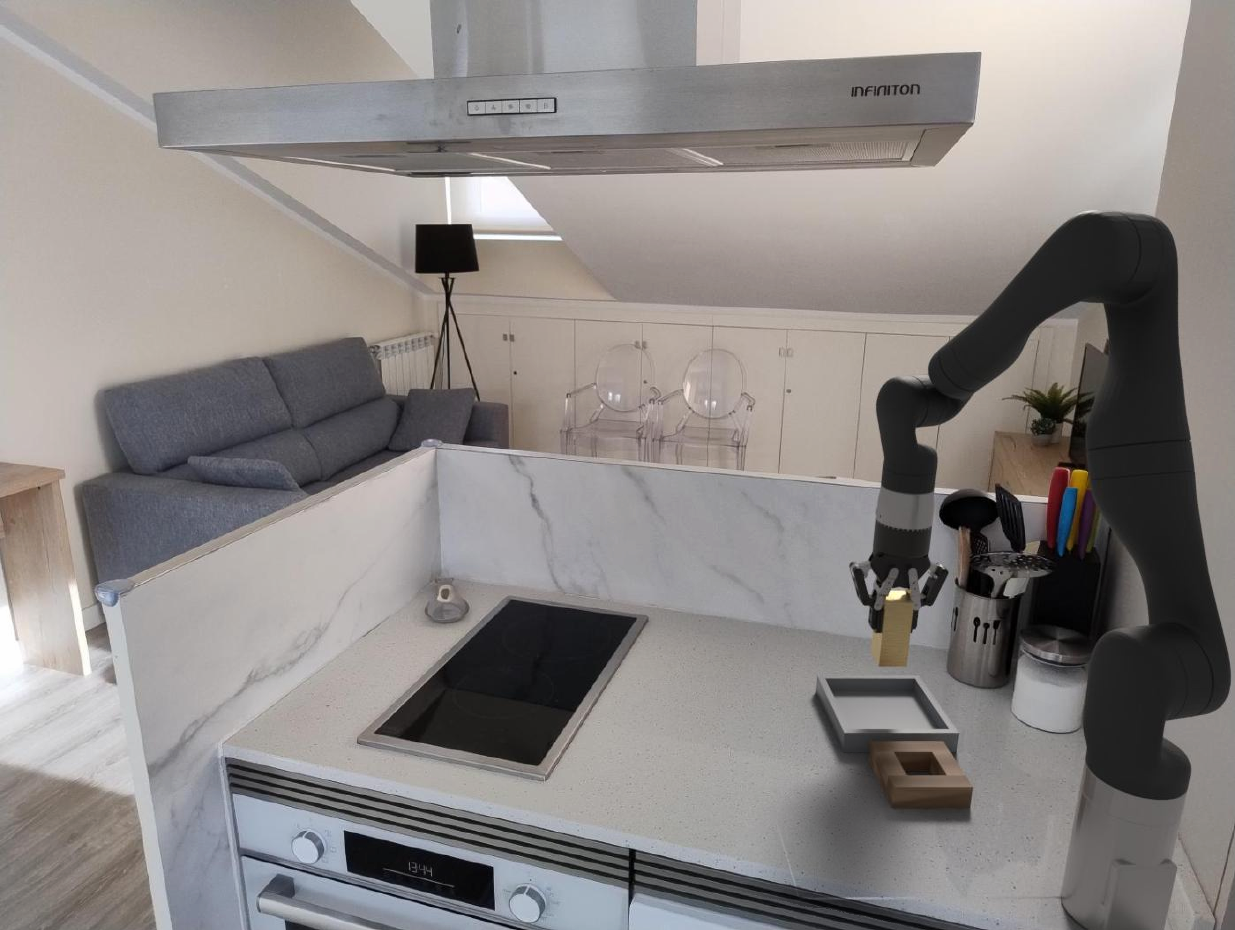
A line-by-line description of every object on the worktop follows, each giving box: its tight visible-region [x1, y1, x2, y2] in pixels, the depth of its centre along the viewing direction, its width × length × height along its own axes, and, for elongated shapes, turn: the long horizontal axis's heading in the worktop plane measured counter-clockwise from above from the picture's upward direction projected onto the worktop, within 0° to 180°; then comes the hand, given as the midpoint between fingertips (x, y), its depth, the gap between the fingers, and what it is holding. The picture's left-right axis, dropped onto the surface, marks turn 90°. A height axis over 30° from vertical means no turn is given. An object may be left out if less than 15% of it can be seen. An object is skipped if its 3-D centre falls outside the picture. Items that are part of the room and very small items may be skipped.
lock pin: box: [870, 590, 914, 668], centre depth 126 cm, size 4×4×10 cm
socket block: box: [868, 741, 974, 809], centre depth 115 cm, size 10×10×3 cm
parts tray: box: [815, 674, 960, 753], centre depth 129 cm, size 16×16×3 cm
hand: (891, 630), depth 126 cm, fingers closed on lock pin, 4 cm apart
